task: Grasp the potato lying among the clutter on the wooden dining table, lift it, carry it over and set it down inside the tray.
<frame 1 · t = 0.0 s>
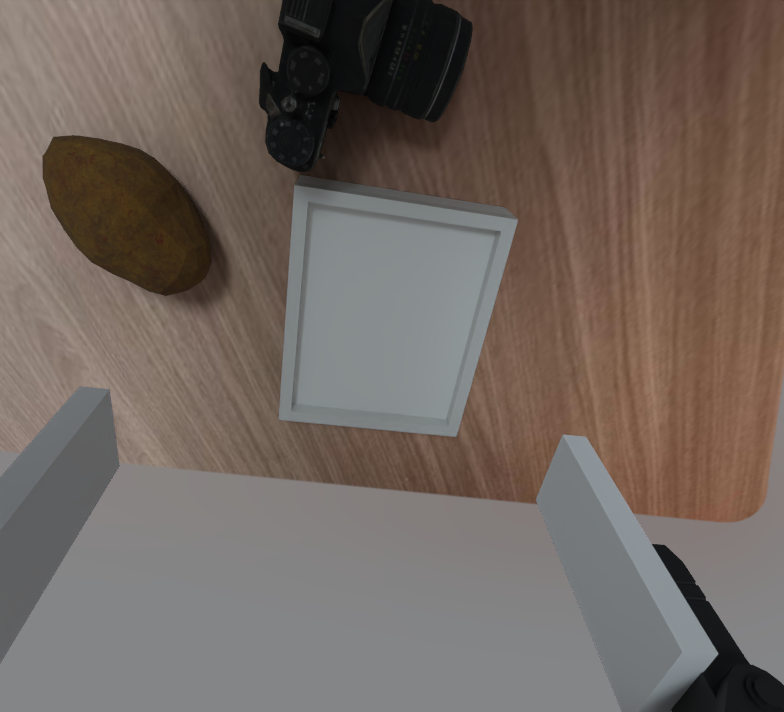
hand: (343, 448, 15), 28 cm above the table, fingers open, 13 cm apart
camera: (367, 62, 35), on the table
potato: (150, 205, 38), on the table
tray: (385, 309, 44), on the table
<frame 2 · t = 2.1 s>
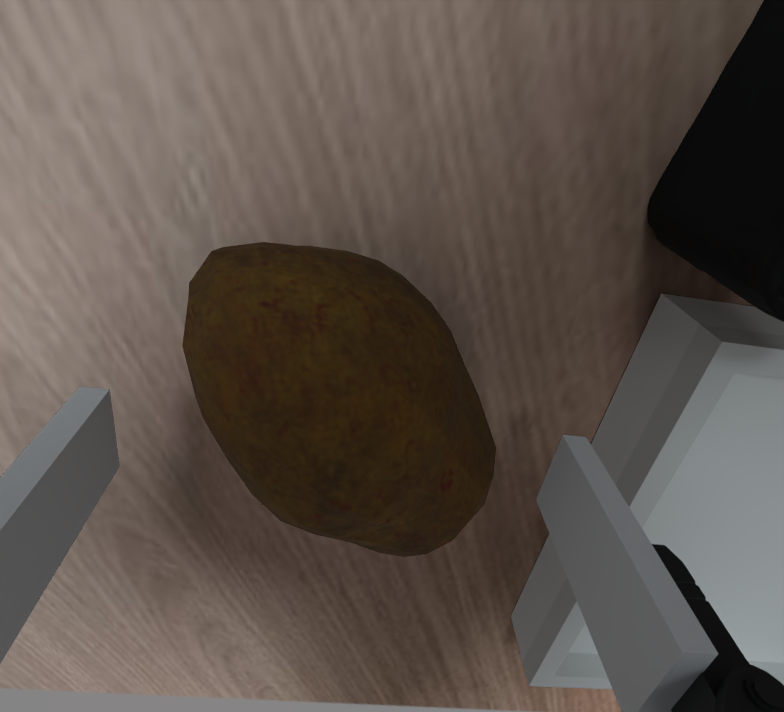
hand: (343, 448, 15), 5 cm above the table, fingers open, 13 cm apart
potato: (352, 347, 20), on the table
tray: (724, 502, 25), on the table
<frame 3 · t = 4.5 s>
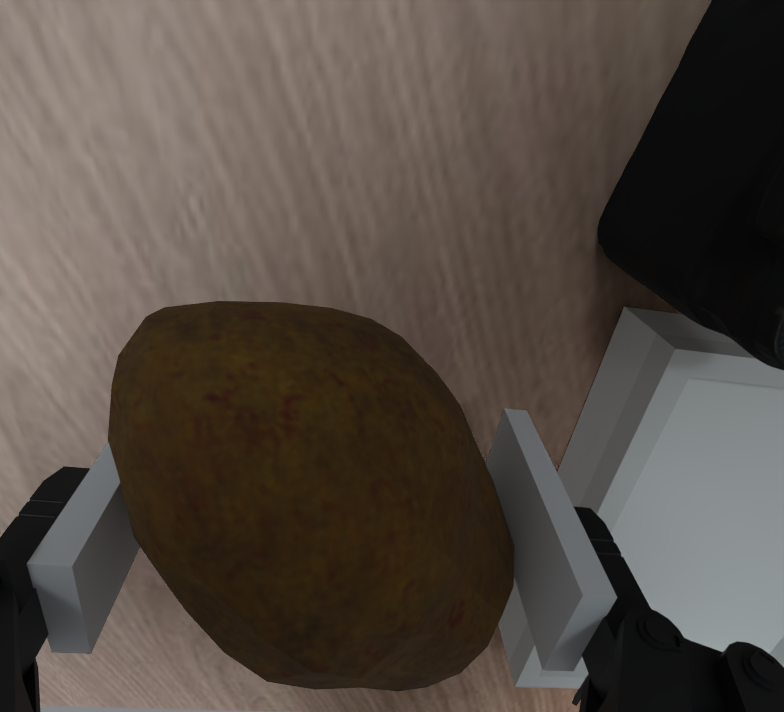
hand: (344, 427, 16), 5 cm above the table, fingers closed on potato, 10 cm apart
potato: (338, 410, 16), point 5 cm above the table, touching gripper
tray: (695, 503, 26), on the table
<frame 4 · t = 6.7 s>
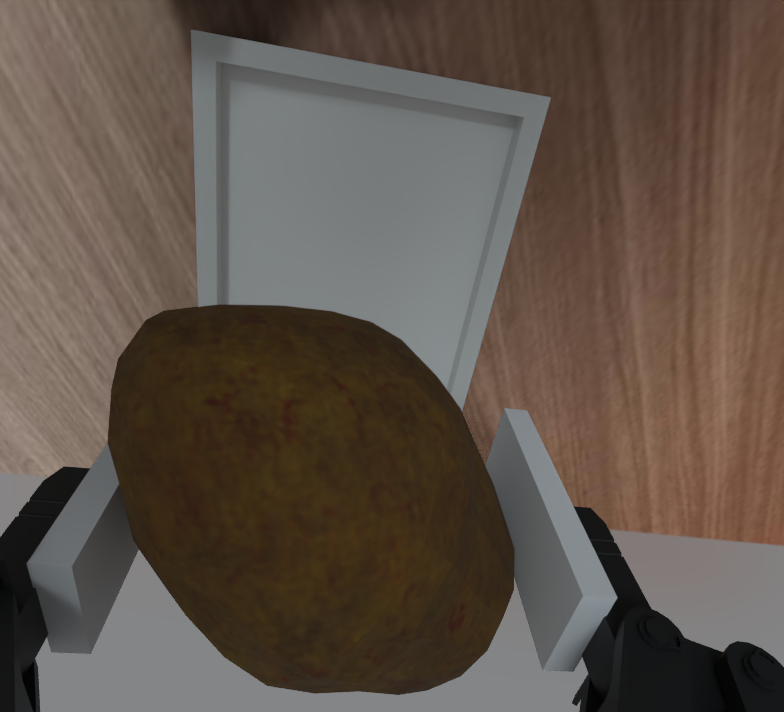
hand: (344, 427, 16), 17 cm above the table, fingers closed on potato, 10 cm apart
potato: (338, 412, 16), point 16 cm above the table, touching gripper
tray: (352, 255, 30), on the table
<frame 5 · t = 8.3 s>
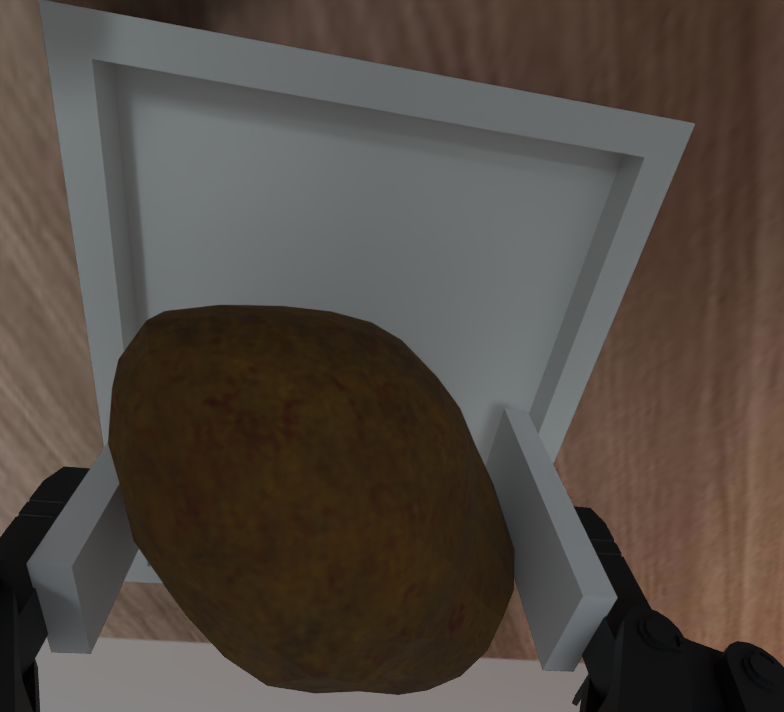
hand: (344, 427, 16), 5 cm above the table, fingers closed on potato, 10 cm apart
potato: (339, 413, 16), point 5 cm above the table, touching gripper
tray: (347, 350, 20), on the table
when the fingers open (5 cm above the table, at t = 9.3 s): potato drops 2 cm, resting on tray.
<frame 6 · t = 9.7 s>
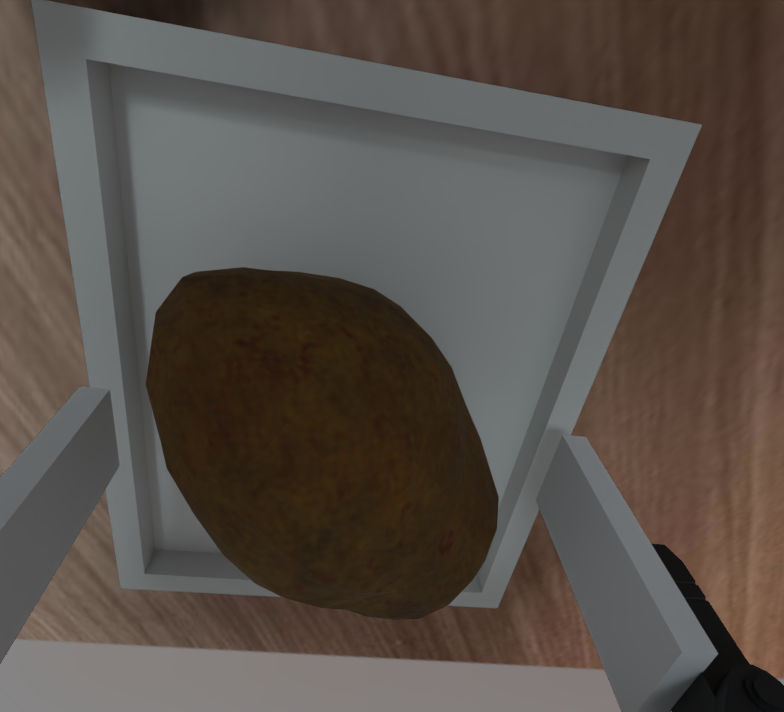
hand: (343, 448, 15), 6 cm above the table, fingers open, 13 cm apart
potato: (341, 379, 18), point 2 cm above the table, touching tray
tray: (347, 354, 20), on the table
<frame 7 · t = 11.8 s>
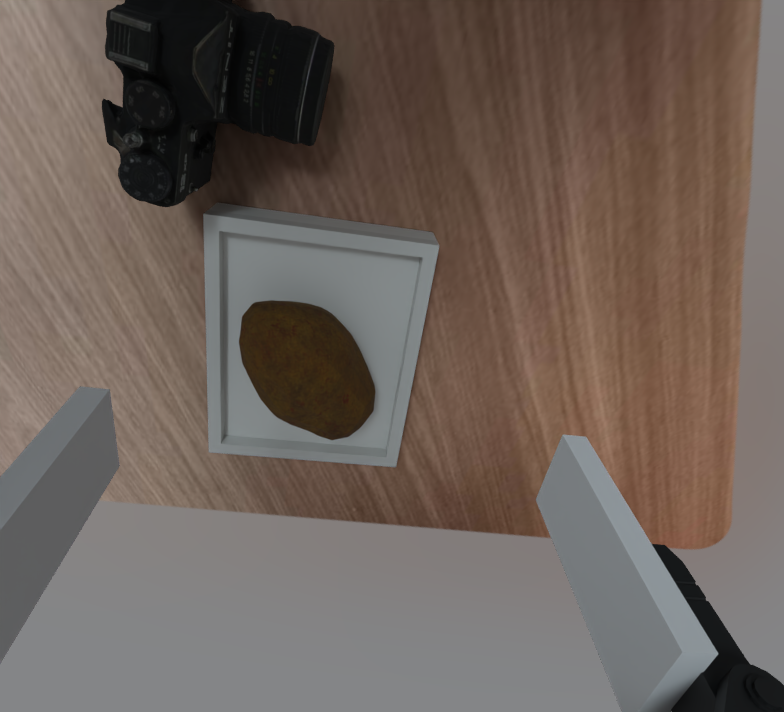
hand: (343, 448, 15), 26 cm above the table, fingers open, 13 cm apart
camera: (246, 89, 34), on the table
potato: (312, 346, 40), point 2 cm above the table, touching tray
tray: (316, 337, 42), on the table
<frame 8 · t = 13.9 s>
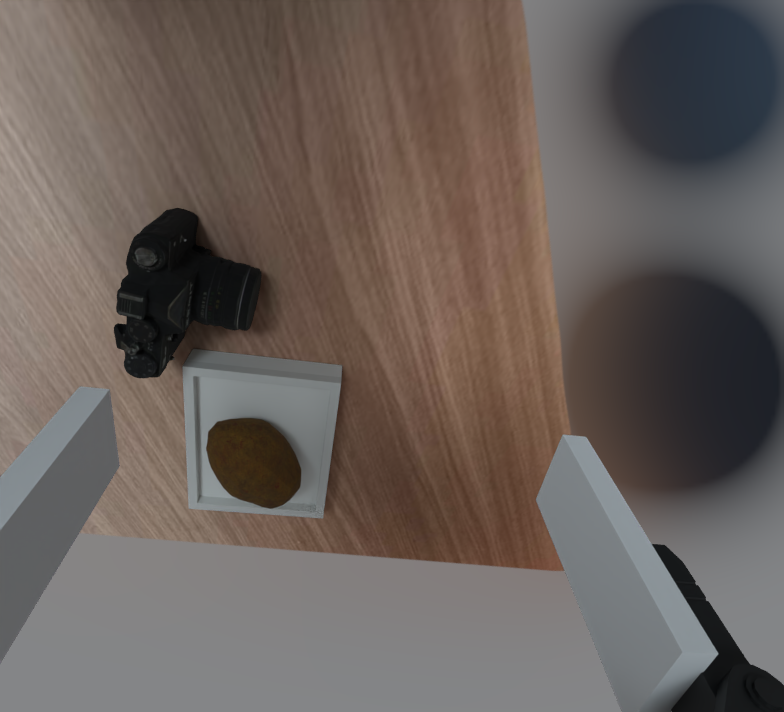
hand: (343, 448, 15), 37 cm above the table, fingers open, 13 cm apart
camera: (207, 283, 51), on the table
potato: (260, 440, 58), point 2 cm above the table, touching tray
tray: (265, 429, 60), on the table
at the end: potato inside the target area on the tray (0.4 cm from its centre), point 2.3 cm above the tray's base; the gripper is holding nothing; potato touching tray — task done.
